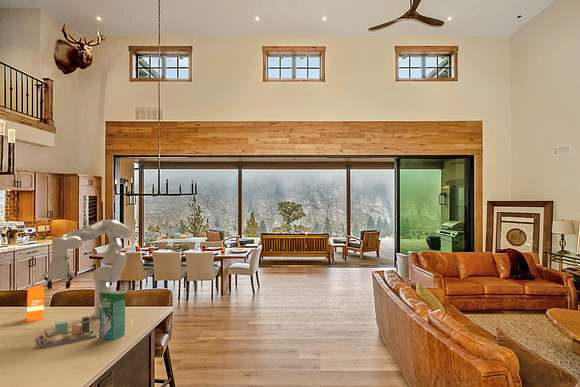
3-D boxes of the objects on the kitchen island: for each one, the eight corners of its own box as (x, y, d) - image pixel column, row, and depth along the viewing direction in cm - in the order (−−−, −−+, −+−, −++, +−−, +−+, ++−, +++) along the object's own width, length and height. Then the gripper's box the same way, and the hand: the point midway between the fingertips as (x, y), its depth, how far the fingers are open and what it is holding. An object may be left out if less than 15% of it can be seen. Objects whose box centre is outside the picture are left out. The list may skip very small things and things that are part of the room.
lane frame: (89, 328, 218) (89, 326, 218) (96, 337, 203) (96, 335, 203) (37, 338, 202) (37, 336, 202) (40, 348, 187) (40, 346, 187)
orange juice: (43, 318, 236) (44, 287, 237) (26, 321, 231) (27, 289, 232) (43, 315, 243) (44, 285, 243) (27, 318, 238) (27, 286, 238)
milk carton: (124, 334, 207) (125, 289, 208) (112, 340, 199) (112, 293, 200) (112, 332, 210) (112, 288, 211) (99, 338, 202) (99, 292, 203)
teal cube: (65, 329, 208) (65, 320, 208) (67, 332, 204) (67, 322, 204) (55, 331, 205) (55, 322, 205) (56, 334, 201) (56, 324, 201)
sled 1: (87, 329, 216) (87, 315, 216) (89, 332, 210) (89, 318, 210) (44, 337, 202) (44, 322, 203) (45, 341, 197) (45, 326, 197)
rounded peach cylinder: (80, 332, 204) (80, 322, 205) (81, 334, 201) (81, 324, 201) (71, 333, 202) (71, 324, 202) (72, 335, 198) (72, 326, 198)
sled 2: (87, 334, 208) (87, 319, 208) (90, 337, 202) (90, 322, 203) (42, 342, 194) (42, 327, 195) (44, 346, 189) (44, 331, 189)
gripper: (78, 257, 219) (77, 286, 219) (46, 258, 217) (46, 287, 217) (72, 259, 212) (71, 289, 211) (39, 260, 210) (39, 290, 209)
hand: (58, 288), depth 214 cm, fingers open, 9 cm apart
